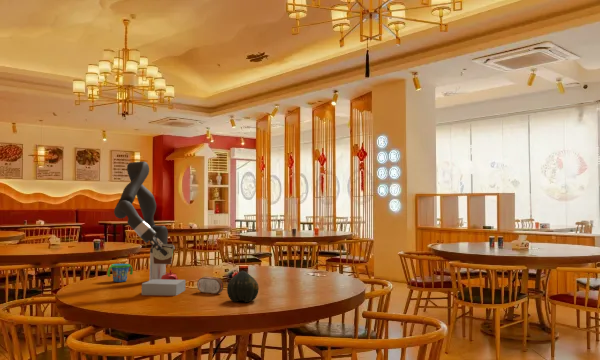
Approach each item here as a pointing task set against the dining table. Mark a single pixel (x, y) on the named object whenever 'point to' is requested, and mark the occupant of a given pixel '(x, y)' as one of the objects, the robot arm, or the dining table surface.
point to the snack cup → (120, 272)
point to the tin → (210, 285)
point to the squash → (242, 287)
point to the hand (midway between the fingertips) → (167, 254)
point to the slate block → (163, 287)
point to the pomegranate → (169, 276)
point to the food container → (160, 258)
